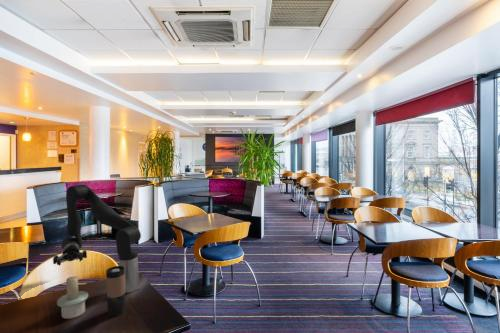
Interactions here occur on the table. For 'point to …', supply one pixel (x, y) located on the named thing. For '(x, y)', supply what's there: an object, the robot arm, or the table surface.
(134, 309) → the table surface
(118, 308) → the travel mug
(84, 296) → the lid
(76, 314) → the bowl
